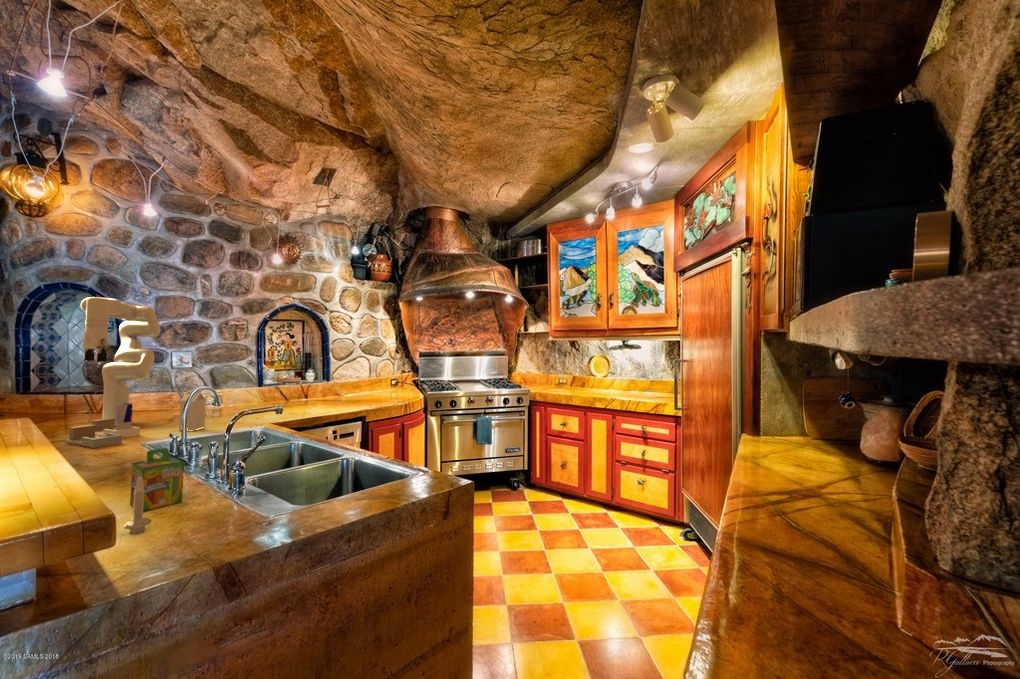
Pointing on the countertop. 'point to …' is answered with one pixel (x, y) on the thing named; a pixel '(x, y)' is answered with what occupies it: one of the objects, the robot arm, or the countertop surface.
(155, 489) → the chalk box
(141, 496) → the screw
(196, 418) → the milk carton
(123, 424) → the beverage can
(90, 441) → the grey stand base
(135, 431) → the pale strip
